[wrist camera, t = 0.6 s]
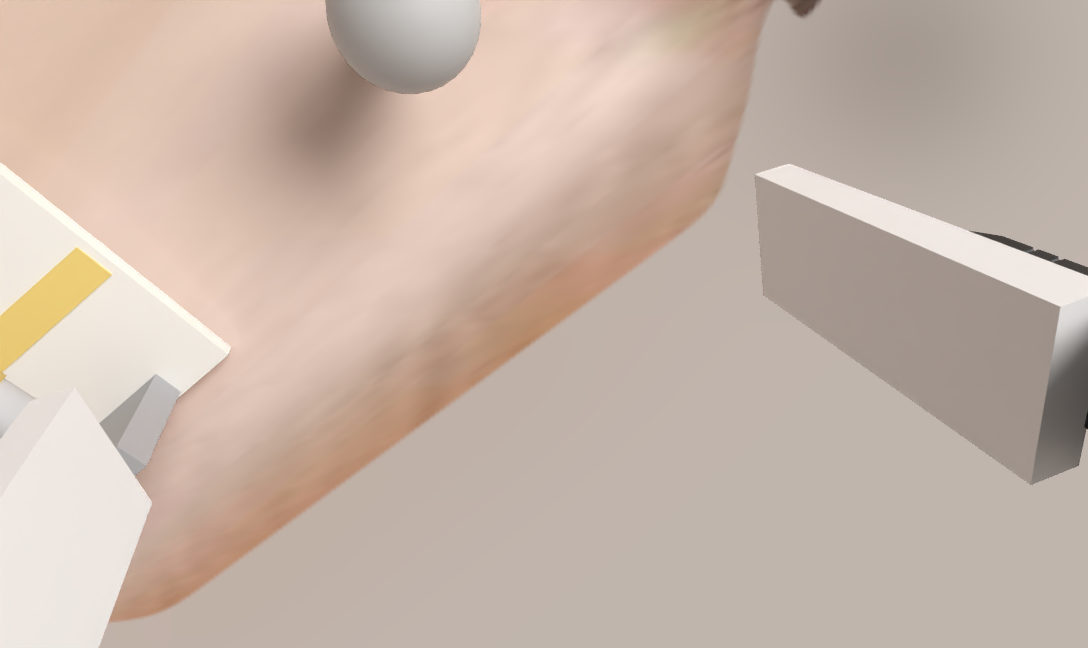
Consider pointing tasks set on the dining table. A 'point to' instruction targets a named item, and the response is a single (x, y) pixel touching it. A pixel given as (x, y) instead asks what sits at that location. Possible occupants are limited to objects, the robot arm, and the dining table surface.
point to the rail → (89, 327)
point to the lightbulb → (405, 40)
